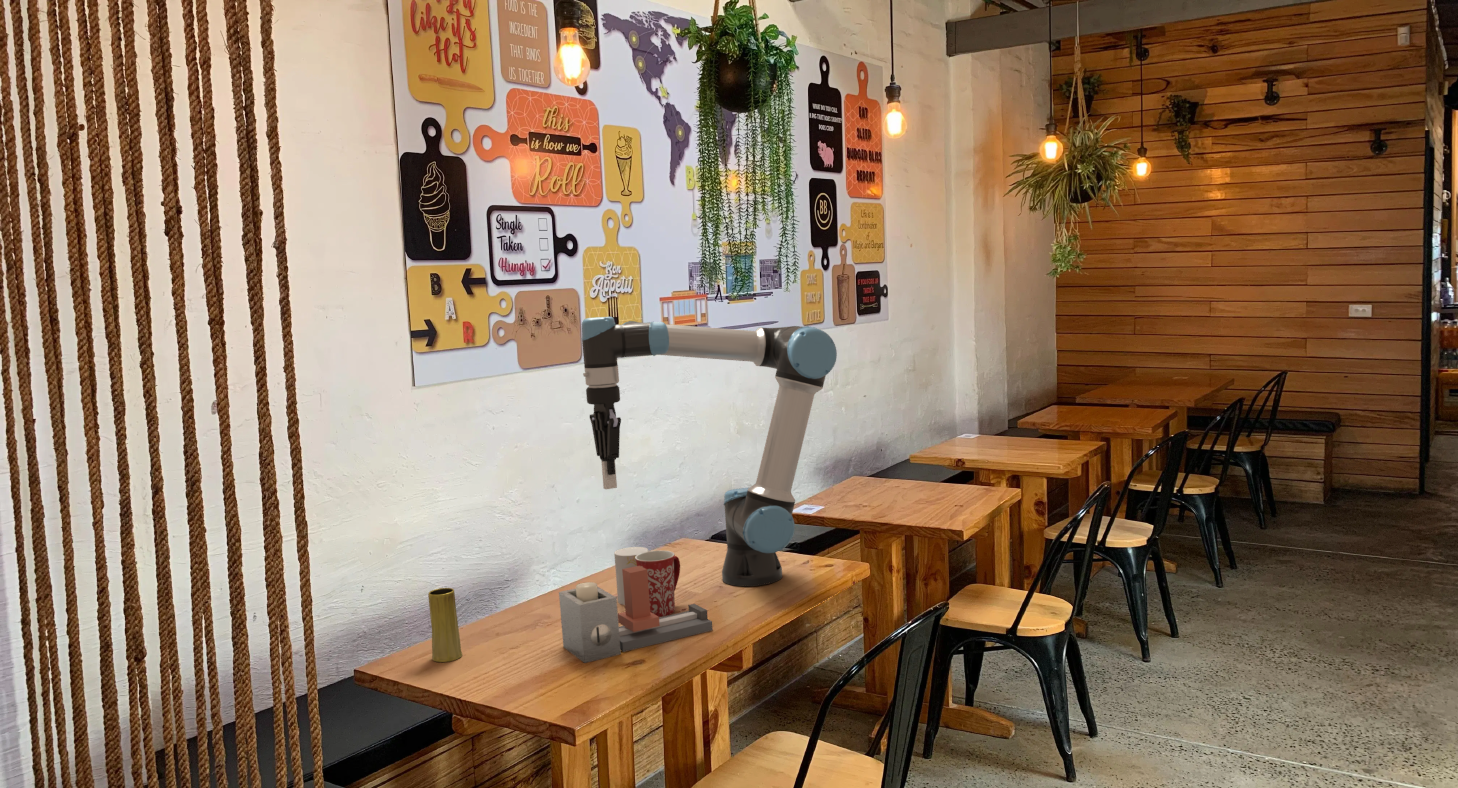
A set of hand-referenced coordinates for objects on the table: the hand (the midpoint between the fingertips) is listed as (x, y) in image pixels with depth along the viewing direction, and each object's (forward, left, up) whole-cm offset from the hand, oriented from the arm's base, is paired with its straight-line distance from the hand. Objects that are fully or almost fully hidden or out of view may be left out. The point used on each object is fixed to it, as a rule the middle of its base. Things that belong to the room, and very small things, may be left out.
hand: (610, 488), depth 244 cm
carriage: (+4, +20, -26) cm, 33 cm away
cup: (-7, -7, -30) cm, 31 cm away
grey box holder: (+15, +20, -29) cm, 39 cm away
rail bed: (0, +20, -29) cm, 36 cm away
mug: (-9, +5, -30) cm, 31 cm away
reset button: (+15, +20, -20) cm, 32 cm away
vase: (+41, +4, -30) cm, 51 cm away
